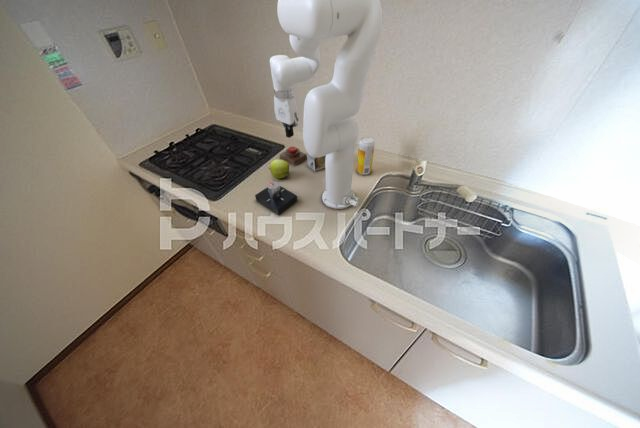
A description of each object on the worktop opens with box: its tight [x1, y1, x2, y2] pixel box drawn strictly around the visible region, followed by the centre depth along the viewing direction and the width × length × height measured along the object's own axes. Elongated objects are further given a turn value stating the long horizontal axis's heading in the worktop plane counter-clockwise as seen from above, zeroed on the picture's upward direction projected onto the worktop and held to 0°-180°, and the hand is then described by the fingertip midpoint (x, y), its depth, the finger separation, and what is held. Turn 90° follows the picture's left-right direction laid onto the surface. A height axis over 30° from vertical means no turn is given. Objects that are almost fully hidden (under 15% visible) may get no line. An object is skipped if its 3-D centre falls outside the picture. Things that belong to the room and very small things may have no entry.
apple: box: [268, 158, 290, 179], centre depth 102 cm, size 8×9×8 cm
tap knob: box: [266, 180, 281, 199], centre depth 89 cm, size 4×4×5 cm
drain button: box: [287, 146, 297, 153], centre depth 111 cm, size 4×4×2 cm
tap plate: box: [254, 185, 298, 216], centre depth 92 cm, size 13×10×3 cm
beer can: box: [356, 136, 376, 176], centre depth 99 cm, size 6×6×15 cm
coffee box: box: [306, 152, 326, 173], centre depth 104 cm, size 9×6×16 cm
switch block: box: [279, 147, 307, 166], centre depth 113 cm, size 10×8×4 cm
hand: (290, 136), depth 107 cm, fingers closed
